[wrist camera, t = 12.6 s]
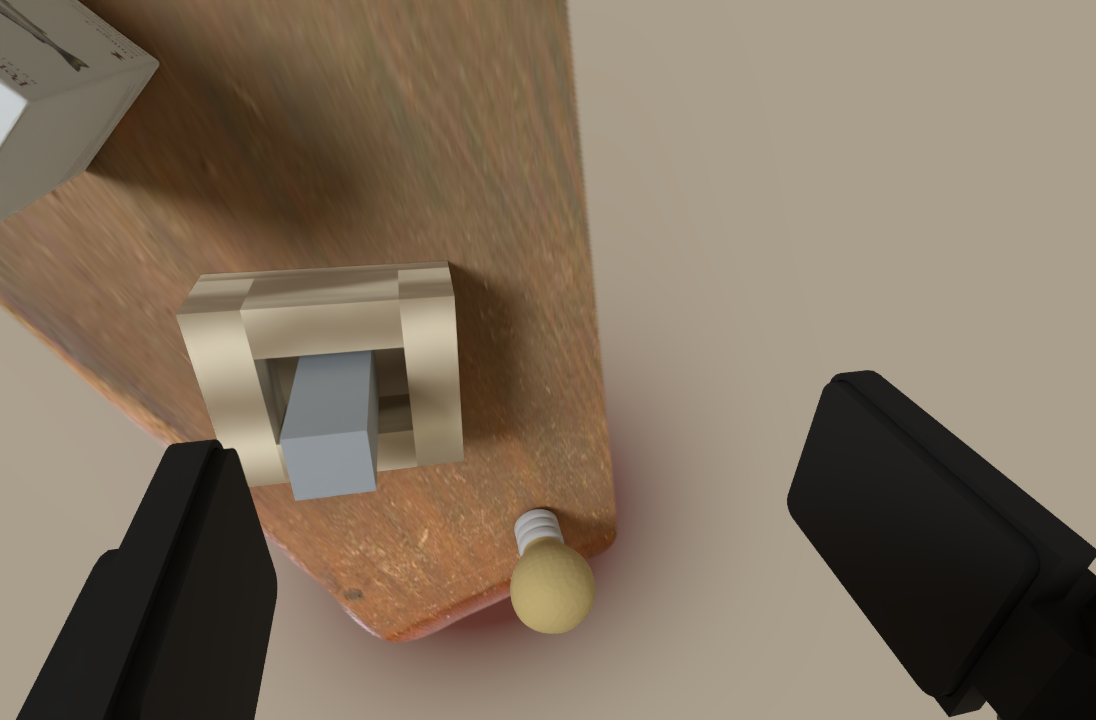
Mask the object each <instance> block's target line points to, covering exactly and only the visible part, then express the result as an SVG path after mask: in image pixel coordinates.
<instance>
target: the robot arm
mask: <svg viewBox="0 0 1096 720" xmlns="http://www.w3.org/2000/svg"><path fill="white" fill-rule="evenodd" d="M787 505H788V509H789V512H790V515H791V516H792V518H793V519H794V520H795V522H796V523H797V525H798V526H799V527H800V529H801V530H802V531H803V532H804V534H805V535H806V537H807V538H808V539H809V541H810V542H811V543H812V545H813V546H814V547H815V549H816V550H817V551H818V553H819V554H820V555H821V557H822V558H823V559H824V561H825V562H826V563H827V565H828V566H829V567H830V569H831V570H832V571H833V573H834V574H835V575H836V577H837V578H838V579H839V581H840V582H841V584H842V585H843V586H844V587H845V589H846V590H847V592H848V593H849V594H850V595H851V597H852V598H853V600H854V601H855V602H856V603H857V605H858V606H859V608H860V609H861V610H862V612H863V613H864V614H865V616H866V617H867V618H868V620H869V621H870V622H871V624H872V625H873V626H874V628H875V629H876V630H877V632H878V633H879V634H880V636H881V637H882V638H883V640H884V641H885V642H886V644H887V645H888V646H889V648H890V649H891V650H892V652H893V653H894V654H895V656H896V657H897V658H898V660H899V661H900V662H901V664H902V665H903V666H904V668H905V669H906V670H907V672H908V673H909V674H910V676H911V677H912V678H913V680H914V681H915V682H916V684H917V685H918V686H919V687H920V688H921V689H922V691H924V692H925V693H926V694H928V695H930V696H932V697H934V698H935V699H936V701H937V702H938V703H939V705H940V706H941V707H942V709H943V710H944V711H945V712H946V714H947V715H948V716H949V717H952V716H956V715H960V714H964V713H968V712H972V711H976V710H979V709H980V708H981V707H982V706H983V705H984V703H985V702H986V701H987V702H988V703H989V704H990V706H991V707H992V708H993V709H994V710H995V711H996V713H997V720H1096V575H1095V574H1093V573H1092V572H1091V571H1090V570H1089V569H1088V567H1089V565H1090V564H1091V563H1092V561H1093V560H1094V559H1095V558H1096V549H1095V548H1094V547H1093V546H1092V545H1090V544H1089V543H1088V542H1087V541H1085V540H1084V539H1083V538H1082V537H1081V536H1079V535H1078V534H1077V533H1076V532H1074V531H1073V530H1072V529H1070V528H1069V527H1068V526H1067V525H1066V524H1064V523H1063V522H1062V521H1061V520H1059V519H1058V518H1057V517H1056V516H1054V515H1053V514H1052V513H1051V512H1049V511H1048V510H1047V509H1046V508H1045V507H1043V506H1042V505H1041V504H1040V503H1038V502H1037V501H1036V500H1035V499H1033V498H1032V497H1031V496H1030V495H1028V494H1027V493H1026V492H1025V491H1023V490H1022V489H1021V488H1020V487H1018V486H1017V485H1016V484H1015V483H1014V482H1012V481H1011V480H1010V479H1008V478H1007V477H1006V476H1005V475H1004V474H1002V473H1001V472H1000V471H999V470H997V469H996V468H995V467H994V466H992V465H991V464H990V463H989V462H987V461H986V460H985V459H984V458H982V457H981V456H980V455H979V454H977V453H976V452H975V451H974V450H973V449H971V448H970V447H969V446H968V445H966V444H965V443H964V442H963V441H961V440H960V439H959V438H958V437H956V436H955V435H954V434H953V433H951V432H950V431H949V430H948V429H946V428H945V427H944V426H943V425H942V424H940V423H939V422H938V421H937V420H935V419H934V418H933V417H932V416H930V415H929V414H928V413H927V412H925V411H924V410H923V409H922V408H920V407H919V406H918V405H917V404H915V403H914V402H913V401H912V400H911V399H909V398H908V397H907V396H906V395H904V394H903V393H901V391H899V390H898V389H897V388H896V387H894V386H893V385H892V384H891V383H889V382H888V381H887V380H886V379H884V378H883V377H882V376H881V375H879V374H878V373H876V372H874V371H869V370H865V371H857V372H847V373H840V374H837V375H835V376H834V377H833V378H832V379H831V382H830V383H829V384H827V385H826V386H825V387H824V389H823V391H822V394H821V397H820V400H819V403H818V406H817V409H816V412H815V415H814V418H813V421H812V424H811V427H810V430H809V433H808V436H807V439H806V442H805V445H804V448H803V451H802V454H801V457H800V460H799V463H798V466H797V469H796V472H795V475H794V478H793V481H792V484H791V487H790V490H789V493H788V497H787ZM276 599H277V577H276V572H275V569H274V566H273V562H272V559H271V556H270V553H269V550H268V547H267V544H266V540H265V537H264V534H263V531H262V528H261V525H260V521H259V518H258V515H257V512H256V509H255V506H254V502H253V499H252V496H251V493H250V490H249V487H248V483H247V480H246V477H245V474H244V471H243V468H242V464H241V461H240V458H239V455H238V453H237V451H236V450H235V449H234V448H227V449H224V448H223V446H222V444H221V443H220V442H219V440H216V439H214V440H205V441H195V442H186V443H176V444H172V445H170V446H169V447H168V448H167V450H166V451H165V453H164V455H163V457H162V459H161V462H160V464H159V466H158V468H157V470H156V472H155V474H154V476H153V479H152V480H151V482H150V485H149V487H148V489H147V491H146V493H145V495H144V497H143V499H142V501H141V503H140V505H139V508H138V510H137V512H136V514H135V516H134V518H133V520H132V522H131V524H130V526H129V528H128V531H127V533H126V535H125V537H124V539H123V541H122V543H121V545H120V547H119V549H114V550H108V551H107V552H105V553H104V554H103V555H102V556H101V557H100V558H99V559H98V561H97V563H96V564H95V565H94V567H93V569H92V571H91V573H90V575H89V577H88V579H87V580H86V582H85V584H84V586H83V588H82V590H81V593H80V594H79V596H78V598H77V600H76V602H75V604H74V606H73V608H72V610H71V612H70V614H69V616H68V618H67V620H66V622H65V624H64V626H63V628H62V630H61V632H60V634H59V636H58V638H57V640H56V642H55V644H54V646H53V648H52V650H51V652H50V653H49V655H48V658H47V659H46V661H45V663H44V665H43V667H42V669H41V671H40V673H39V675H38V677H37V679H36V681H35V683H34V685H33V687H32V689H31V691H30V693H29V695H28V697H27V699H26V701H25V703H24V705H23V707H22V709H21V711H20V713H19V714H18V716H17V718H16V720H254V717H255V713H256V707H257V702H258V696H259V691H260V686H261V680H262V675H263V669H264V664H265V658H266V653H267V647H268V642H269V636H270V631H271V626H272V621H273V615H274V610H275V604H276Z"/></svg>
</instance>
